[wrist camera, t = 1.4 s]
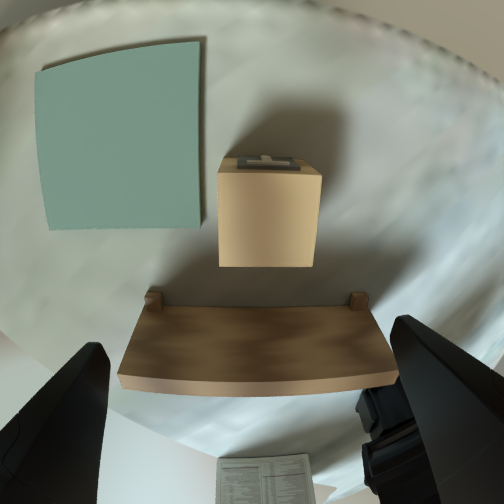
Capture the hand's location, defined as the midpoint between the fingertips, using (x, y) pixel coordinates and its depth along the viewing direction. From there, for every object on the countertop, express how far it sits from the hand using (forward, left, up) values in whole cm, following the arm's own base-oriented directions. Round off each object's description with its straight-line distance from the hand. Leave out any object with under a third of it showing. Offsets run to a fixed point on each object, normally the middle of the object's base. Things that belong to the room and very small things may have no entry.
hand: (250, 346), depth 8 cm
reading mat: (+9, -5, -13) cm, 16 cm away
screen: (-1, +9, -13) cm, 16 cm away
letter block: (-1, -1, -13) cm, 13 cm away
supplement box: (-3, +41, -13) cm, 43 cm away
